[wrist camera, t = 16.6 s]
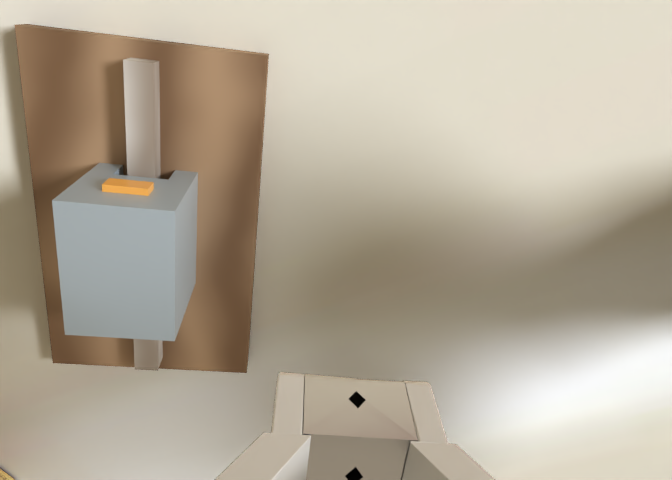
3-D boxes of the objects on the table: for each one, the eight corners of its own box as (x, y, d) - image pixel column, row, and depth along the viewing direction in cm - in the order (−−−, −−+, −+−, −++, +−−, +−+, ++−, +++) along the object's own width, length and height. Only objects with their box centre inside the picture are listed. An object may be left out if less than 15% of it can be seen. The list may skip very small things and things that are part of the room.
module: (198, 166, 33) (175, 204, 27) (195, 282, 36) (174, 341, 30) (99, 156, 32) (51, 192, 26) (105, 276, 35) (64, 334, 29)
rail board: (268, 54, 32) (266, 58, 29) (248, 360, 41) (244, 385, 38) (27, 24, 30) (0, 25, 28) (61, 350, 39) (44, 375, 37)
